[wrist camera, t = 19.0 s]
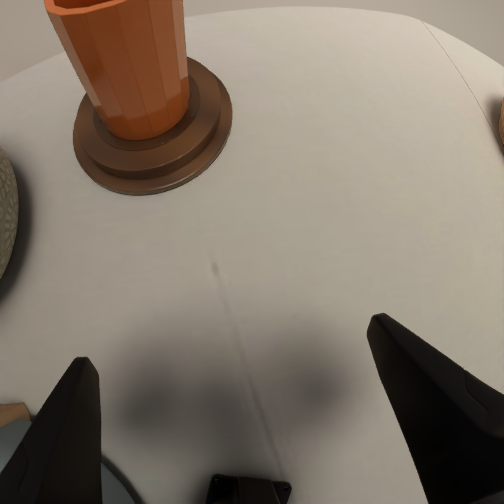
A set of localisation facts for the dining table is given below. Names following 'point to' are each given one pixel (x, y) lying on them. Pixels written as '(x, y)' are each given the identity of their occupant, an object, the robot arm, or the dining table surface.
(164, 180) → the stand
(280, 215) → the dining table surface
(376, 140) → the dining table surface
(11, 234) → the planter
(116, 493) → the alarm clock
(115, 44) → the cup
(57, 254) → the dining table surface
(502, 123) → the bowl
